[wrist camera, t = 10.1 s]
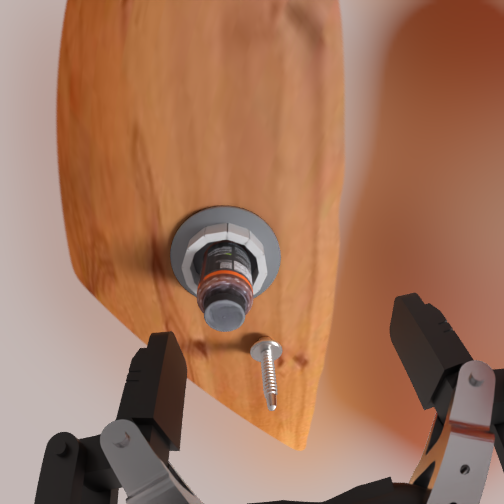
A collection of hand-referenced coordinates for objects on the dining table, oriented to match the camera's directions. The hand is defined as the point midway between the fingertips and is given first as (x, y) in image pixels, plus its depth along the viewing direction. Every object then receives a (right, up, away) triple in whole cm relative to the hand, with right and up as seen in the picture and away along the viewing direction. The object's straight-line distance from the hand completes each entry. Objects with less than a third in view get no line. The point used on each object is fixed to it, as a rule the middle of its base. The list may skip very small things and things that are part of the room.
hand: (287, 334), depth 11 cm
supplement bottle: (-4, +2, +29) cm, 29 cm away
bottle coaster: (-5, +2, +30) cm, 30 cm away
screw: (+1, -11, +37) cm, 39 cm away
